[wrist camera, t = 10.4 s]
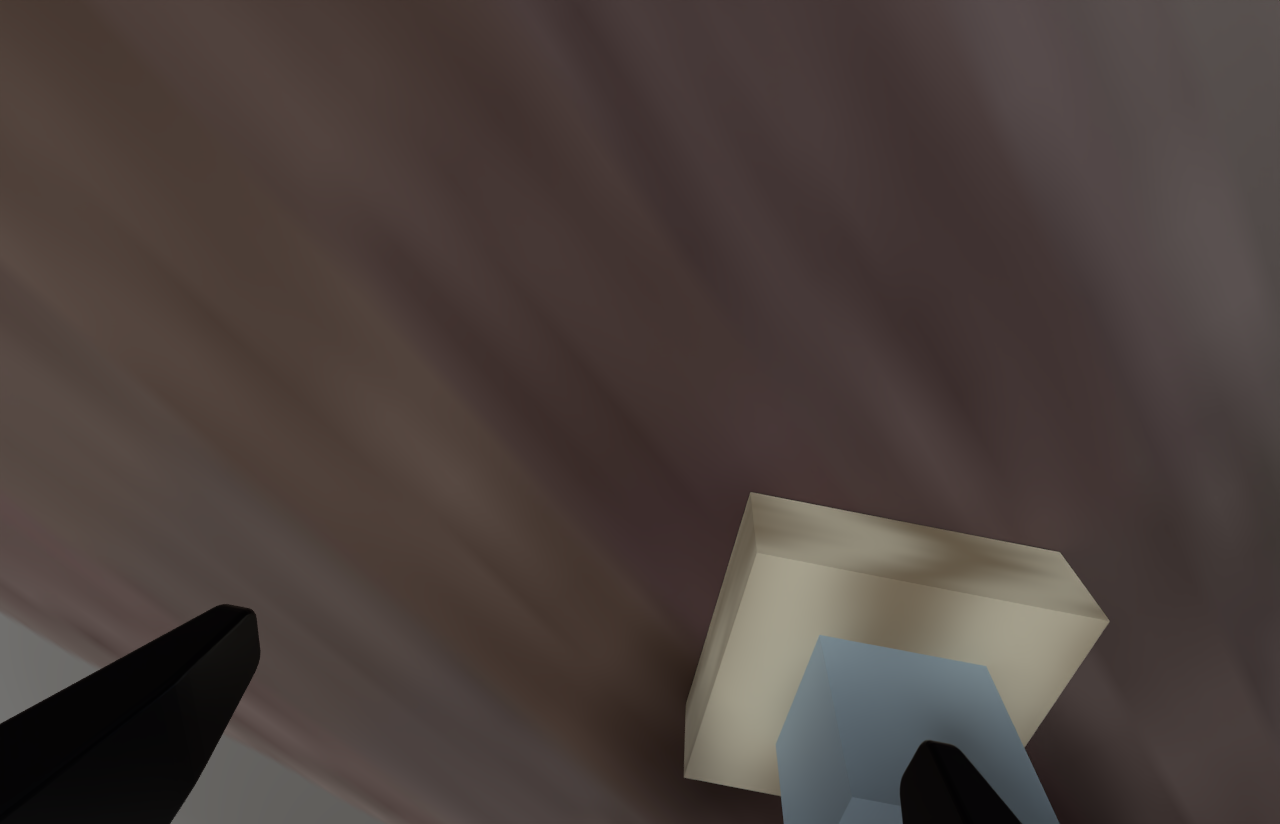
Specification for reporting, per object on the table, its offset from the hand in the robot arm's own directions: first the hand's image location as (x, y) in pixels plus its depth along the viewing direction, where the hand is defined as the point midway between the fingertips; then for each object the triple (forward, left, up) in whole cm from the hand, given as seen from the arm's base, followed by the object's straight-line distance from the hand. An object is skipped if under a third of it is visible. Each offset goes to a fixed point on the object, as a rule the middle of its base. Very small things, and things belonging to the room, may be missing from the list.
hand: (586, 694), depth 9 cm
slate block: (-9, +9, -9) cm, 16 cm away
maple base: (-9, +9, -12) cm, 17 cm away
